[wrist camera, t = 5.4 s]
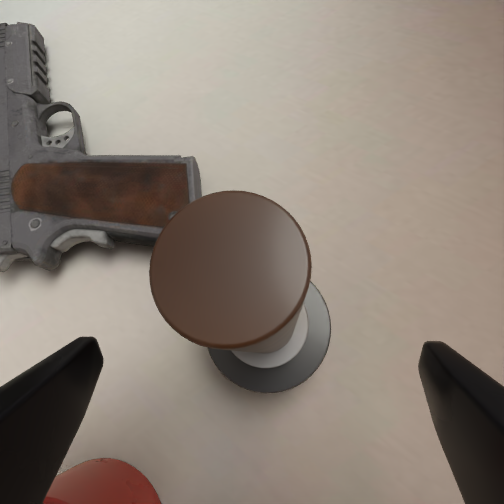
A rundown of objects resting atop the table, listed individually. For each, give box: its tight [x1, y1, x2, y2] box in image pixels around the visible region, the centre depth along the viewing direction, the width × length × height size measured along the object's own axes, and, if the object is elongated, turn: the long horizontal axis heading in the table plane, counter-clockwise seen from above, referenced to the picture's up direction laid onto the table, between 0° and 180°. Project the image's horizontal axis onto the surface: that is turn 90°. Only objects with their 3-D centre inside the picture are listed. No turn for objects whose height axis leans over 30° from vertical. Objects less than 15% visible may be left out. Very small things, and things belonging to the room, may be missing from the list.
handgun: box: [0, 22, 202, 272], centre depth 22 cm, size 3×22×14 cm
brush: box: [149, 191, 331, 393], centre depth 12 cm, size 6×6×14 cm
